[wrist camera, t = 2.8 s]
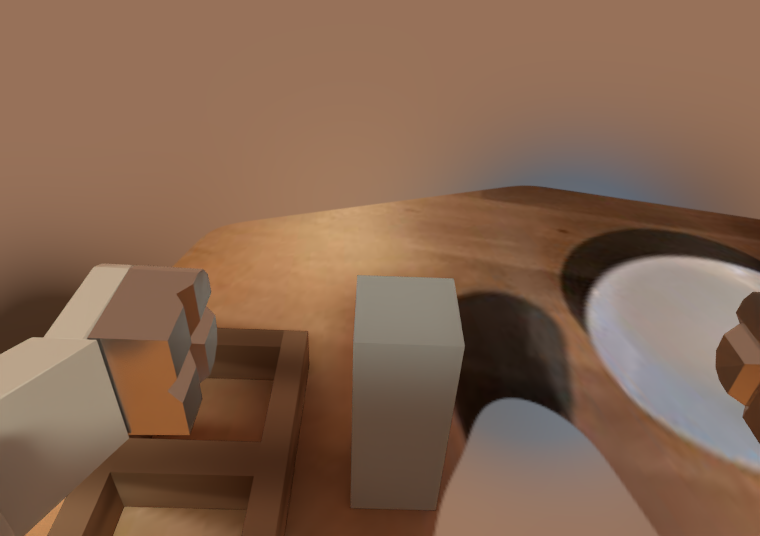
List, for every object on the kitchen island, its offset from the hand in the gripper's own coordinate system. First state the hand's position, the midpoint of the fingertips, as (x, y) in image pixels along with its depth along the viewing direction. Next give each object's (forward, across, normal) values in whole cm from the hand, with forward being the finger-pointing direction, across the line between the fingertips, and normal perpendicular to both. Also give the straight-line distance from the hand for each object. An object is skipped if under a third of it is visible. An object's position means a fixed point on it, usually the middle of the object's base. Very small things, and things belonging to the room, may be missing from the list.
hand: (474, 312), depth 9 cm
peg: (+12, 0, +22) cm, 25 cm away
